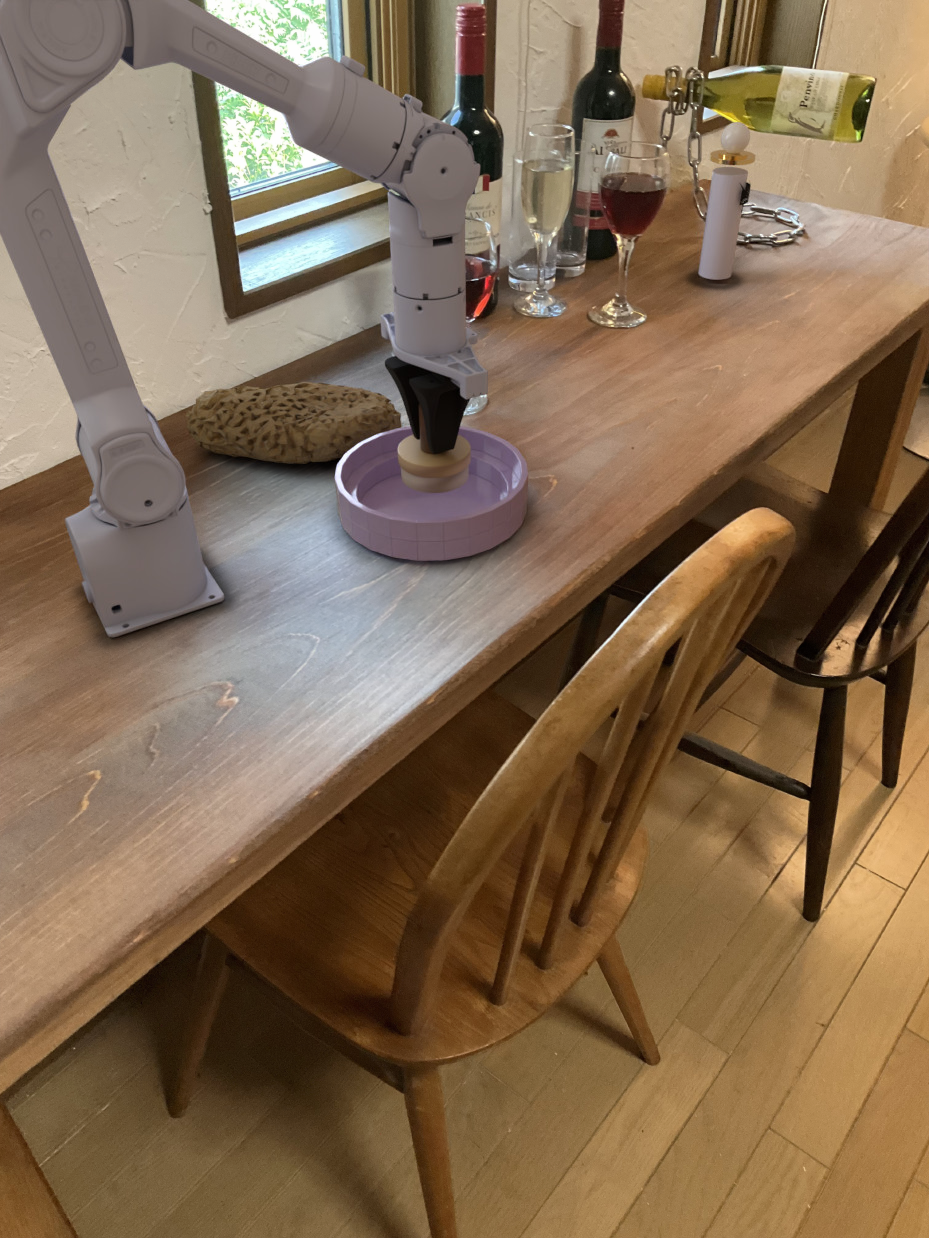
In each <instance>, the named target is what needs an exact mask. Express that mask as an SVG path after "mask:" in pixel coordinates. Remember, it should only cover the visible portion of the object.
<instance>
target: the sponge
mask: <svg viewBox="0 0 929 1238" xmlns="http://www.w3.org/2000/svg"><path fill="white" fill-rule="evenodd" d="M185 417H186V419H187V423H186V424H187V425H186V426H187V431H188V433H189V435H190V436H191V437H192V439H193V440H194V441H195V442H196V443H197V445H198V447H199V448H200V447H201V448H202V449H205V450H208V451H210V452H213V453H214V454H219V455H227V456H230V457H232V458H233V457H234V458H235V457H236V458H238V457H244V458H250V459H254V460H257V461H258V460H260V461H263V462H274V463H278V464H279V463H281V464H289V465H291V464H305V465H306V464H308V463H309V462H313V463H321V462H330V461H333V460H336V459H341V458H342V457H343V456H344V454H345V453H346V452H347V451H349V450H350V449H351V448H353V447H354V446H355V445H357V444H358V443H360V442H361V441H364V440H366V439H368V438H370V437H372V436H374V435H376V434H379V433H383V432H386V431H390V430H393V429H397V428H402V427H403V426H402V420H401V418H402V412H400V411H398V410H396V408H395V405H394V403H392V400H391V399H389V397H388V398H387V396H386V395H384V394H382V393H380V392H374V391H371V390H368V389H364V388H363V387H354V386H353V387H352V386H348V385H341V384H340V385H339V384H332V383H324V382H310V381H300V382H299V383H288V384H287V383H286V384H278V385H274V386H270V387H267V388H263V387H259V386H256V387H255V386H249V385H248V386H247V385H239V386H237V387H233V388H216V389H213V390H206V391H205V390H204V391H203V393H202V394H201V395H199V396H198V397H197V398H195V404H193V405H192V408H191V410H187V411H186V413H185Z"/></svg>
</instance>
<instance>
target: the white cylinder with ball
mask: <svg viewBox="0 0 929 1238" xmlns="http://www.w3.org/2000/svg"><path fill="white" fill-rule="evenodd" d="M748 127H749V126H747V125H746V124H745V123H743V122H741V121H735V122H731V123H729V124H727V125H726V126H725V128H723V130H722V132H721V136H720V145H721V147H722V149H717V150H714V151H711V152H710V154H709V161H711V162H713V163H715V164H719V165H724V166H720V167H715V168H713V169H712V171H711V178H710V179H711V180H710V186H709V192H708V193H709V195H708V199H707V208H706V214H705V223H704V229H703V236H702V244H701V249H700V258H699V264H698V270H697V271H698V272H697V274H698V275H699V276H700V277H701V278H703V279H704V278H705V279H707V280H708V279H709V280H717V281H718V280H727V279H729V278H731V277H732V275H733V268H734V263H735V256H736V250H737V244H738V238H739V231H740V226H741V225H740V224H741V220H742V219H741V218H742V213H743V211H744V207H745V205H746V204H747V205H746V206H748V203H749V198H750V193H751V185H752V184H751V180H748V176H749V171H748V170H747V169H745V168H742V167H737V166H746V165H751V164H753V163H755V161H756V156H757V155H756V154H755V153H753V152H751V151H748V150H746V148H747V147H748V146H749V143H750V141H751V133H750V129H749V128H748ZM735 166H736V167H735ZM748 181H749V182H748Z"/></svg>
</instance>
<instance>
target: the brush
mask: <svg viewBox="0 0 929 1238" xmlns="http://www.w3.org/2000/svg"><path fill="white" fill-rule="evenodd" d="M419 427H420V439H419V440H417V439H416V438H415V437H414V435H411V436H409V437H407V438H405V439H404V440H403V441H401V443H400V444H399V446H398V463H399V465H400V467H401V478H402V481H403V482H404V484H405V485H406V486H408V487H409V488H411V489H413V490H416V491H420V492H425V493H443V492H448V491H452V490H455V489H457V488H459V487H461V486H462V485H463V484H465V483H466V481H467V480H468V477H469V464H470V461H471V446H470V444H469V442H468V441H467V440H466V439H465V438H464V437H462V436H460V435H458V436H457V440H456V444H455V447H454V449H452V450H448V451H445V452H442V453H438V454H433V453H432V452H431V451H430V448H429V445H428V442H427V436H426V429H425V422H424V417H423V413H422V409H421V406H420V404H419Z"/></svg>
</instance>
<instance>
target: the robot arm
mask: <svg viewBox="0 0 929 1238" xmlns="http://www.w3.org/2000/svg"><path fill="white" fill-rule="evenodd" d="M120 61H122V62H123V63H125V64H126V65H128V66H129V67H130V68H132V70H133V71H136V70H137V71H138V70H139V71H140V70H143V69H144V70H145V69H149V68H153V67H157V66H161V65H167V64H171V63H172V64H175V65H176V64H177V65H180V66H182V67H184V68H185V69H188V70H190V71H192V72H194V73H196V74H198V75H200V76H203V77H205V78H206V79H209V80H211V81H213V82H215V83H218V84H220V85H221V86H224V87H225V88H228V89H230V90H232V91H234V92H236V93H239V94H241V95H243V96H245V97H247V98H249V99H251V100H253V101H255V102H257V103H259V104H261V105H263V106H266V107H268V108H270V109H272V110H274V111H277V112H278V113H281V115H282V117H283V119H284V121H285V123H286V126H287V130H288V132H289V135H290V137H291V139H292V141H293V142H294V144H295V145H296V146H298V147H299V148H302V149H304V150H306V151H308V152H310V153H313V154H314V155H317V156H319V157H320V158H323V159H325V160H327V161H329V162H331V163H332V164H335V165H337V166H339V167H341V168H343V169H345V170H347V171H349V172H351V173H353V174H356V175H357V176H359V177H361V178H363V179H366V180H367V181H369V182H371V183H373V184H380V185H381V186H382V187H383V189H385V190H387V191H388V192H387V205H388V223H389V224H388V225H389V226H388V230H389V231H388V232H389V247H390V248H389V249H390V263H391V264H390V265H391V280H392V281H391V282H392V301H393V302H392V303H393V311H392V312H387V313H383V314H380V316H379V317H380V318H379V319H380V333H381V334H380V335H381V337H382V338H383V339H385V340H386V341H389V342H390V344H391V347H392V350H393V353H394V356H390V357H388V358H385V360H384V367H385V369H386V370H387V372H388V373H389V376H390V377H391V378H392V380H393V382H394V384H395V386H396V388H397V390H398V393H399V395H400V397H401V400H402V403H403V406H404V409H405V412H406V415H407V419H408V422H409V427H410V426H411V429H412V432H413V435H414V437H415V438H416V439H417V440H419V439H420V427H419V404H420V406H421V409H422V413H423V417H424V422H425V429H426V436H427V442H428V445H429V448H430V451H431V452H432V453H433V454H438V453H442V452H445V451H448V450H452V449H454V447H455V444H456V440H457V436H458V432H459V428H460V426H462V425H461V424H462V420H463V417H464V414H465V412H466V410H467V407H468V405H469V403H470V401H471V400H472V399H474V398H478V397H482V396H484V395H488V393H489V371H488V370H487V369H486V368H484V367H483V366H482V364H481V363H480V361H479V359H478V357H477V354H476V353H475V350H474V348H473V346H472V345H475V344H477V343H478V341H479V335H478V333H477V332H475V331H474V330H472V329H471V328H468V327H467V293H466V292H467V291H466V289H467V288H466V287H467V285H466V283H467V279H466V278H467V277H466V270H467V269H466V208H467V205H468V202H469V201H470V199H471V197H472V195H473V194H474V192H475V190H476V188H477V186H478V183H479V179H480V176H481V175H480V174H481V164H480V163H477V161H475V153H474V149H473V146H472V144H470V143H469V142H468V141H469V138H468V137H467V136H466V134H465V133H464V132H463V131H461V130H460V129H459V128H457V127H455V126H453V125H451V124H450V123H447V122H444V121H443V120H440V119H438V118H436V117H434V116H432V115H429V114H427V113H425V112H423V109H422V107H423V101H421V100H420V99H418V98H416V97H415V96H412V95H411V94H409V93H405V94H404V95H403V97H400V96H398V95H396V94H395V93H393V92H391V91H389V90H388V89H386V88H384V87H383V86H381V85H379V84H377V83H375V82H374V81H372V80H370V79H369V78H367V77H365V76H364V74H365V72H366V66H365V65H364V64H363V63H361V62H359V61H357V60H355V59H354V58H352V57H349V56H347V55H342V56H341V57H340V61H337V60H335V59H334V58H332V57H330V56H321V57H317V58H315V59H313V60H311V61H309V62H305V63H303V64H297V63H295V62H294V61H292V60H290V59H289V58H287V57H285V56H283V55H282V54H280V53H278V52H277V51H275V50H273V49H272V48H270V47H268V46H266V45H265V44H263V43H261V42H260V41H259V40H257V39H255V38H252V37H251V36H250V35H247V34H246V33H245V32H243V31H241V30H239V29H238V28H236V27H234V26H232V25H231V24H230V23H227V22H226V21H224V20H222V19H221V18H219V17H218V16H216V15H214V14H213V13H210V12H209V11H207V10H206V9H204V8H203V7H200V6H199V5H197V4H195V3H194V2H192V1H190V0H0V237H1V239H2V242H3V245H4V246H5V249H6V251H7V254H8V256H9V259H10V261H11V263H12V265H13V268H14V270H15V272H16V274H17V277H18V279H19V282H20V284H21V286H22V289H23V291H24V294H25V296H26V298H27V300H28V301H27V302H28V303H29V305H30V307H31V310H32V312H33V315H34V318H35V319H36V322H37V325H38V327H39V329H40V331H41V334H42V335H43V338H44V340H45V341H44V342H45V343H46V345H47V348H48V350H49V352H50V354H51V357H52V360H53V361H54V365H55V366H56V368H57V371H58V373H59V376H60V379H61V380H62V383H63V385H64V387H65V390H66V392H67V395H68V397H69V399H70V402H71V404H72V406H73V408H74V411H75V413H76V428H75V442H76V446H77V449H78V451H79V454H80V455H81V457H82V458H83V460H84V463H85V466H86V468H87V471H88V473H89V477H90V479H91V481H92V483H93V488H92V491H91V495H90V496H89V500H88V501H89V505H88V506H86V507H85V508H84V509H82V510H80V511H78V512H76V513H74V514H71V515H70V516H67V517H65V518H64V523H65V527H66V531H67V534H68V535H69V536H68V537H69V539H70V542H71V546H72V549H73V553H74V555H75V558H76V561H77V564H78V567H79V570H80V573H81V576H82V579H83V580H82V581H81V586H82V589H83V592H84V594H85V597H86V599H87V601H88V603H89V604H92V605H93V607H94V609H95V612H96V613H97V616H98V618H99V620H100V623H101V624H102V626H103V628H104V630H105V633H106V634H107V636H108V637H109V638H116V637H120V636H123V635H126V634H129V633H131V632H134V631H138V630H141V629H144V628H146V627H149V626H153V625H156V624H159V623H162V622H165V621H167V620H170V619H173V618H177V617H180V616H182V615H186V614H188V613H192V612H194V611H197V610H200V609H203V608H207V607H209V606H212V605H215V604H219V603H221V602H223V601H224V600H225V593H224V592H223V591H222V589H221V587H220V585H219V584H218V583H217V581H216V580H215V578H214V577H213V575H212V574H211V572H210V571H209V569H208V567H207V566H206V565H205V563H204V560H203V559H204V558H203V555H202V551H201V546H200V541H199V537H198V533H197V529H196V524H195V518H194V515H193V510H192V506H191V502H190V497H189V493H188V488H187V485H186V484H187V483H186V482H187V481H186V474H185V471H184V469H183V467H182V465H181V463H180V461H179V460H178V458H176V457H175V456H174V454H173V452H172V451H171V449H170V447H169V445H168V444H167V441H166V439H165V437H164V436H163V434H162V432H161V427H160V425H159V423H158V419H157V418H156V416H155V414H154V413H153V411H152V410H150V408H148V407H147V406H146V405H145V404H144V403H143V401H142V398H141V396H140V393H139V391H138V389H137V387H136V384H135V381H134V379H133V376H132V373H131V370H130V368H129V365H128V362H127V359H126V358H125V357H126V356H125V355H124V352H123V349H122V347H121V344H120V341H119V338H118V335H117V333H116V330H115V328H114V324H113V322H112V320H111V317H110V315H109V312H108V309H107V306H106V304H105V300H104V298H103V295H102V293H101V290H100V287H99V284H98V281H97V279H96V276H95V274H94V272H93V269H92V266H91V263H90V260H89V257H88V254H87V252H86V250H85V246H84V244H83V242H82V238H81V237H80V236H81V235H80V233H79V230H78V228H77V225H76V223H75V220H74V218H73V217H74V216H73V215H72V212H71V210H70V207H69V204H68V201H67V199H66V196H65V193H64V190H63V188H62V186H61V182H60V180H59V178H58V175H57V172H56V169H55V166H54V163H53V161H52V158H51V156H50V153H49V145H50V143H51V141H52V139H53V138H54V136H55V134H56V133H57V131H58V129H59V127H60V126H61V124H62V123H63V121H64V119H65V117H66V115H67V114H68V112H69V110H70V108H71V107H72V104H73V103H74V102H76V101H77V100H78V99H79V98H80V97H82V96H84V95H85V94H86V93H88V91H90V90H91V89H93V88H94V87H95V86H96V85H98V84H100V82H102V81H103V80H104V79H105V78H106V77H107V76H109V74H110V73H111V72H112V71H113V70H114V69H115V68H116V66H117V65H118V63H119V62H120ZM391 190H392V191H391Z"/></svg>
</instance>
